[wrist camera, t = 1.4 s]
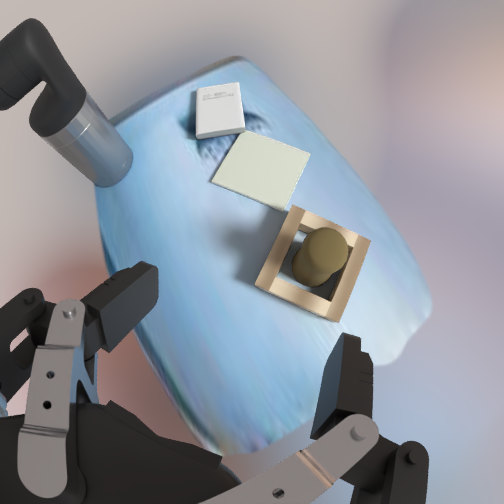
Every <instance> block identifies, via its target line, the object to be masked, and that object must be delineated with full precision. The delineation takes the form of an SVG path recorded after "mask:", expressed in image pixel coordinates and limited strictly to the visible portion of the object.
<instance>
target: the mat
mask: <svg viewBox="0 0 504 504" xmlns="http://www.w3.org/2000/svg"><path fill="white" fill-rule="evenodd" d="M309 157H310V153H308V152H305V151H303V150H300V149H297V148H295V147H292V146H290V145H287V144H284V143H282V142H279V141H276V140H273V139H271V138H268V137H265V136H262V135H259V134H256V133H253V132H250V131H247V130H246V131H245V132H244V133H241V134H240V135H239V137H238V138H237V140H236V141H235V143H234V145H233V146H232V148H231V150H230V151H229V153H228V154H227V156H226V158H225V159H224V161H223V163H222V164H221V166H220V168H219V169H218V171H217V173H216V174H215V176H214V178H213V179H212V183H214V184H216V185H219V186H221V187H224V188H226V189H229V190H231V191H234V192H236V193H238V194H241V195H243V196H246V197H248V198H251V199H253V200H255V201H258V202H260V203H263V204H265V205H267V206H270V207H272V208H274V209H277V210H279V211H281V212H284V210H285V208H286V206H287V204H288V202H289V199H290V197H291V195H292V193H293V191H294V189H295V187H296V185H297V183H298V180H299V178H300V176H301V174H302V172H303V170H304V168H305V166H306V163H307V161H308V159H309Z"/></svg>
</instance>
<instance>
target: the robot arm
mask: <svg viewBox="0 0 504 504" xmlns="http://www.w3.org/2000/svg"><path fill="white" fill-rule="evenodd" d="M41 81H45V82H46V83H47V84H46V86H45V88H44V90H43V91H42V93H41V94H40V96H39V97H38V99H37V100H36V102H35V104H34V106H33V107H32V110H31V113H30V117H29V123H30V126H31V128H32V129H33V130H34V131H35V132H36V133H37V134H38V135H39V136H40V137H41V138H43V139H44V140H45V141H46V142H47V143H48V144H49V145H50V146H52V147H53V148H54V149H55V150H56V151H57V152H58V153H60V154H61V155H62V156H63V157H64V158H65V159H66V160H68V161H69V162H70V163H71V164H72V165H73V166H74V167H76V168H77V169H78V170H79V171H80V172H81V173H83V174H84V175H85V176H86V177H87V178H88V179H90V180H91V181H92V182H93V183H94V184H96V185H97V186H99V187H109V186H112V185H114V184H116V183H117V182H119V181H120V180H121V179H122V178H123V177H124V176H125V175H126V174H127V172H128V171H129V169H130V167H131V164H132V160H133V154H132V151H131V149H130V148H129V146H128V145H127V144H126V142H125V141H124V140H123V139H122V137H121V136H120V134H119V133H118V132H117V131H116V129H115V128H114V127H113V125H112V124H111V123H110V121H109V120H108V119H107V117H106V116H105V115H104V113H103V112H102V111H101V110H100V108H99V107H98V105H97V104H96V103H95V101H94V100H93V99H92V97H91V96H90V95H89V93H88V92H87V91H86V89H85V88H84V87H83V85H82V84H81V83H80V81H79V80H78V79H77V77H76V75H75V74H74V72H73V71H72V69H71V68H70V66H69V65H68V64H67V62H66V61H65V59H64V57H63V56H62V54H61V52H60V51H59V49H58V47H57V45H56V44H55V42H54V40H53V38H52V37H51V35H50V33H49V32H48V30H47V29H46V28H45V26H44V25H43V24H42V23H41V22H40V21H38V20H36V19H33V18H30V19H27V20H25V21H23V22H22V23H21V24H19V25H18V26H17V27H16V28H14V29H13V30H12V31H11V32H10V33H9V34H7V35H6V36H5V37H4V38H3V39H2V40H1V41H0V110H1V111H2V110H7V109H9V108H10V107H12V106H13V105H15V104H16V103H17V102H18V101H19V100H20V99H22V98H23V97H24V96H25V95H26V94H27V93H28V92H30V91H31V90H32V89H33V88H34V87H35V86H37V85H38V84H39V83H40V82H41ZM157 300H158V268H157V267H156V266H154V265H151V264H149V263H146V262H144V261H140V262H138V263H137V264H136V265H134V266H133V267H132V268H126V269H123V270H120V271H118V272H116V273H115V274H114V275H112V276H111V277H110V279H109V278H108V279H107V280H106V281H104V283H103V284H100V285H99V286H98V287H97V288H95V289H94V290H93V291H91V292H90V293H89V294H88V295H87V296H85V297H84V298H83V299H81V300H80V301H79V300H77V299H66V300H63V301H61V302H60V303H58V304H55V303H51V302H48V301H45V300H44V297H43V294H42V292H41V290H39V289H36V288H28V289H25V290H23V291H22V292H21V293H19V294H18V295H17V296H15V297H14V298H13V299H11V300H10V301H9V302H8V303H6V304H5V305H4V306H3V307H2V308H0V504H310V503H311V502H312V501H314V500H315V499H316V498H318V497H319V496H320V495H322V494H323V493H324V492H325V491H327V490H328V489H329V488H330V487H331V486H332V485H333V483H334V482H335V481H336V480H337V479H339V478H340V479H342V480H344V481H346V482H348V483H350V484H352V485H354V490H353V494H352V498H351V501H350V504H425V502H426V493H427V483H428V467H429V456H428V453H427V451H426V449H425V447H424V446H423V445H421V444H420V443H418V442H415V441H407V442H405V443H403V444H402V445H398V444H396V443H393V442H392V441H390V440H388V439H386V438H384V437H382V436H381V435H380V434H379V431H378V427H377V425H376V424H375V422H374V421H373V420H372V408H373V363H372V360H371V358H370V356H369V354H368V353H365V352H362V351H361V338H360V337H357V336H354V335H350V334H347V333H342V334H341V335H340V337H339V339H338V341H337V343H336V345H335V347H334V348H333V350H332V352H331V354H330V356H329V358H328V360H327V362H326V365H325V368H324V372H323V377H322V383H321V388H320V393H319V398H318V403H317V408H316V413H315V418H314V422H313V427H312V431H311V435H310V439H314V440H317V441H315V442H314V443H312V444H311V445H310V446H308V447H307V448H305V449H303V450H300V451H298V452H296V453H294V454H293V455H291V456H289V457H288V458H286V459H285V460H283V461H281V462H280V463H278V464H277V465H275V466H273V467H271V468H270V469H268V470H266V471H265V472H263V473H261V474H259V475H257V476H255V477H254V478H252V479H250V480H248V481H246V482H244V483H242V482H241V481H240V480H239V478H238V477H237V476H236V475H235V474H234V473H233V472H232V471H231V470H230V469H229V468H227V467H226V466H225V465H223V464H222V463H221V460H222V456H220V455H217V454H215V453H212V452H210V451H207V450H205V449H202V448H200V447H198V446H195V445H193V444H189V443H185V442H180V441H176V440H171V439H167V438H163V437H160V436H158V435H156V434H155V433H154V432H153V431H152V430H151V429H149V428H148V427H147V426H146V425H145V424H144V423H143V422H142V421H141V420H140V419H138V418H137V417H136V416H135V415H134V414H132V413H131V412H129V411H127V410H126V409H124V408H122V407H121V406H119V405H117V404H116V403H114V402H113V401H111V400H110V401H109V402H108V404H107V405H101V404H99V399H98V395H97V359H98V355H97V351H98V350H99V349H100V348H102V349H104V350H105V351H107V352H108V353H110V352H111V351H112V350H113V349H114V348H115V347H116V346H117V345H118V343H119V342H120V341H121V340H122V339H123V338H124V337H125V336H126V335H127V334H128V333H129V332H130V331H131V330H132V329H133V328H134V327H135V326H136V325H137V324H138V323H139V322H140V321H141V320H142V319H143V318H144V317H145V316H146V315H147V314H148V313H149V312H150V311H151V310H152V309H153V308H154V306H155V305H156V303H157ZM25 328H26V330H27V332H28V334H29V335H28V336H27V337H26V338H25V339H24V340H23V341H22V342H21V343H20V344H19V345H18V346H17V347H16V348H15V349H14V350H13V351H12V352H10V344H11V342H12V340H13V339H15V338H16V337H17V336H18V335H19V334H20V333H21V332H22V331H23V330H24V329H25ZM29 378H30V383H29V389H28V396H27V404H26V412H25V414H21V415H14V416H8V412H7V410H6V406H7V403H8V402H9V400H10V399H11V398H12V397H13V396H14V395H15V394H16V392H17V391H18V390H19V389H20V388H21V387H22V386H23V384H24V383H25V382H26V381H27V380H28V379H29Z"/></svg>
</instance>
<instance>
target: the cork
mask: <svg viewBox="0 0 504 504" xmlns="http://www.w3.org/2000/svg"><path fill="white" fill-rule="evenodd" d="M347 256H348V245H347V242H346V240H345V238H344V237H343V235H342V234H341V233H339V232H338V231H337V230H335V229H332V228H329V227H321V228H318V229H315V230H313V231H312V232H310V233H309V234H308V235H307V236H306V238H305V239H304V242H303V245H302V248H301V249H299V250H298V251H297V252H296V254H295V255H294V256H293V260H292V272H293V275H294V277H295V278H296V279H297V281H298V282H300V283H301V284H303V285H305V286H308V287H318V286H321V285H323V284H324V283H326V282H327V281H328V280H329V278H330V277H331V275H332V273H335V272H337V271H338V270H339V269H341V268H342V267H343V265H344V264H345V262H346V260H347Z"/></svg>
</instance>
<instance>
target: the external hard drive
mask: <svg viewBox="0 0 504 504" xmlns="http://www.w3.org/2000/svg"><path fill="white" fill-rule="evenodd" d="M245 131H246V130H245V122H244V115H243V108H242V101H241V94H240V86H239V83H238V82H235V83H228V84H222V85H215V86H209V87H204V88H199V89H197V96H196V137H197V139H206V138H212V137H218V136H224V135H231V134H238V133H244V132H245Z"/></svg>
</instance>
